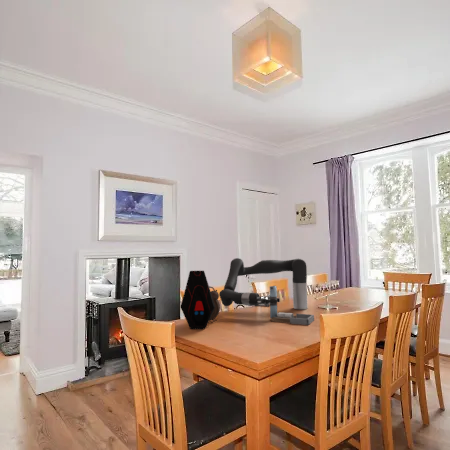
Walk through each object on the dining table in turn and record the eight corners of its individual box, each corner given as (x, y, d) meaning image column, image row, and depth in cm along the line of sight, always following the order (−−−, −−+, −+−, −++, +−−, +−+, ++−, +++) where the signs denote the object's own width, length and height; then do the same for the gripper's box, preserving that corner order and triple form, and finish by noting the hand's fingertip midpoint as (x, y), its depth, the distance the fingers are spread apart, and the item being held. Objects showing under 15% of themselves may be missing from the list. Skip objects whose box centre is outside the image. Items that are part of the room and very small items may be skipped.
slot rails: (277, 317, 199) (277, 314, 200) (296, 319, 194) (296, 315, 195) (271, 321, 190) (271, 317, 190) (290, 322, 185) (290, 319, 185)
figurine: (217, 326, 182) (216, 269, 184) (215, 329, 174) (214, 270, 176) (183, 326, 183) (182, 270, 186) (180, 329, 176) (179, 271, 178)
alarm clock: (221, 320, 195) (220, 285, 196) (219, 323, 188) (218, 286, 189) (196, 320, 197) (196, 285, 199) (193, 323, 190) (193, 287, 191)
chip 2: (286, 320, 194) (286, 312, 194) (293, 320, 192) (293, 313, 192) (284, 321, 190) (284, 314, 190) (291, 321, 188) (291, 314, 189)
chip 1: (279, 319, 196) (279, 312, 196) (286, 319, 194) (285, 312, 194) (276, 320, 192) (276, 313, 192) (283, 321, 190) (283, 314, 191)
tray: (296, 318, 196) (296, 313, 196) (314, 320, 191) (314, 314, 191) (290, 323, 184) (289, 317, 184) (308, 325, 179) (308, 319, 180)
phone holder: (275, 291, 249) (272, 293, 238) (275, 304, 248) (272, 307, 237) (251, 290, 254) (247, 292, 244) (251, 303, 254) (247, 306, 243)
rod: (272, 316, 199) (271, 285, 200) (279, 317, 197) (278, 285, 198) (268, 318, 193) (267, 286, 194) (275, 319, 191) (274, 287, 192)
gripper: (255, 303, 208) (282, 305, 200) (245, 307, 196) (274, 309, 188) (255, 291, 209) (281, 292, 201) (245, 294, 196) (273, 296, 188)
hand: (278, 300), depth 194 cm, fingers closed on rod, 4 cm apart
